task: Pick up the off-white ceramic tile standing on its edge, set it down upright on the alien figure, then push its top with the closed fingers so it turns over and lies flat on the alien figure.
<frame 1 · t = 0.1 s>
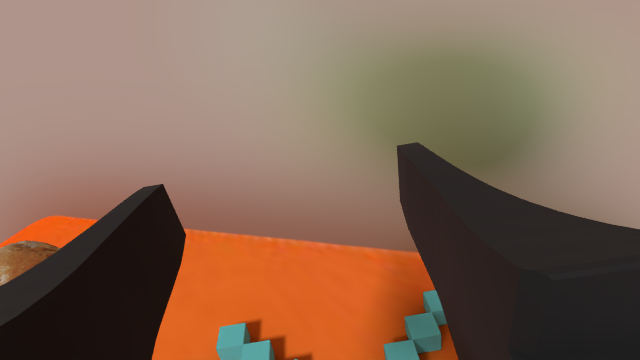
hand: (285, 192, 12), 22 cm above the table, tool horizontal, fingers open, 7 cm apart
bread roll: (35, 294, 45), on the table
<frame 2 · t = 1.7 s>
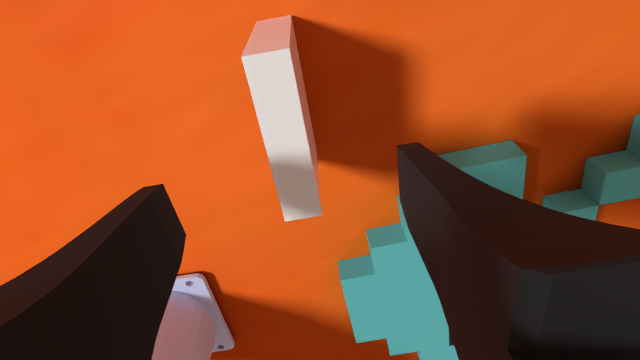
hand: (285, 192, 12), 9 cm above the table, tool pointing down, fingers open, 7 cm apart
alien figure: (482, 261, 28), on the table
tile: (289, 90, 20), on the table
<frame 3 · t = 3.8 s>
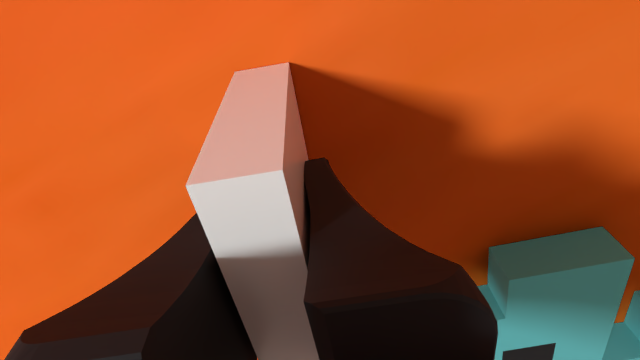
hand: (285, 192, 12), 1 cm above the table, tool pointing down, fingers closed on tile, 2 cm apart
tile: (286, 168, 13), on the table, touching gripper
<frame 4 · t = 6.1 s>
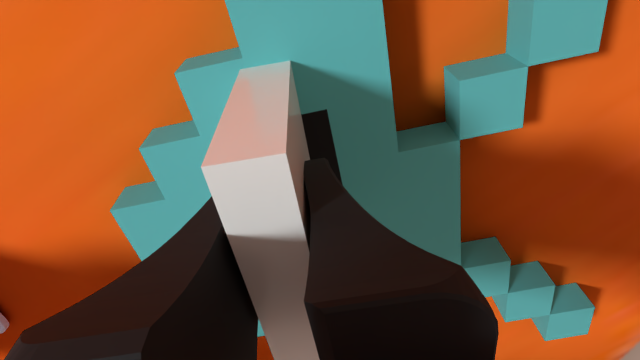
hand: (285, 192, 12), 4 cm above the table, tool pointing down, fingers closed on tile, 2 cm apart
alien figure: (369, 193, 18), on the table, touching tile
tile: (287, 160, 14), point 2 cm above the table, touching gripper, alien figure
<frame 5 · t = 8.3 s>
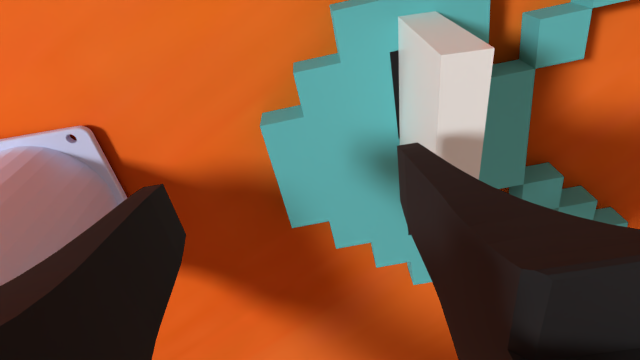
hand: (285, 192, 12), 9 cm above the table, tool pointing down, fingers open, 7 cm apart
alien figure: (448, 124, 22), on the table, touching tile
tile: (415, 91, 19), point 2 cm above the table, touching alien figure
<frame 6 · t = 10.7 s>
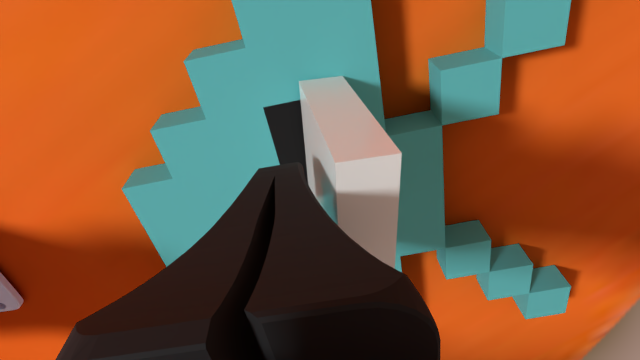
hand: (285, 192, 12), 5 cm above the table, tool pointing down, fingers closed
alien figure: (361, 178, 19), on the table, touching tile
tile: (325, 162, 16), point 2 cm above the table, tilted 8°, touching gripper, alien figure
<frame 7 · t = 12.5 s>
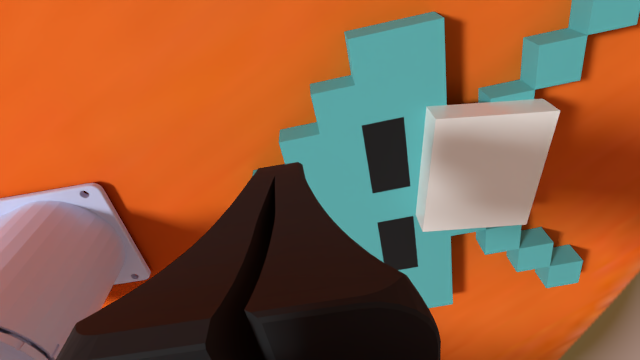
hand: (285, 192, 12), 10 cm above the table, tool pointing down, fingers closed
alien figure: (420, 176, 25), on the table, touching tile
tile: (424, 172, 21), point 2 cm above the table, tilted 90°, touching alien figure
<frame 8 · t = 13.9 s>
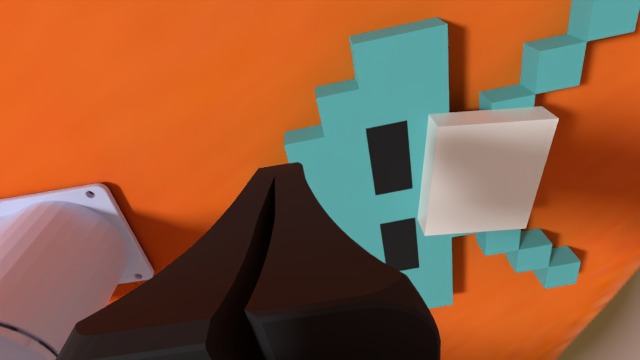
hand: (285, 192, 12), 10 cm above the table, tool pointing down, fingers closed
alien figure: (421, 178, 26), on the table, touching tile
tile: (426, 178, 22), point 2 cm above the table, tilted 90°, touching alien figure
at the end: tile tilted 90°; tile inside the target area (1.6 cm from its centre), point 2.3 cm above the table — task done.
